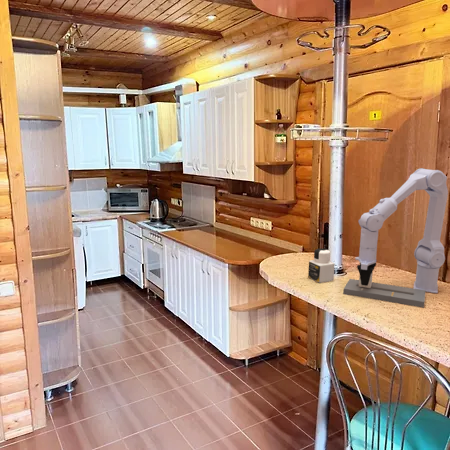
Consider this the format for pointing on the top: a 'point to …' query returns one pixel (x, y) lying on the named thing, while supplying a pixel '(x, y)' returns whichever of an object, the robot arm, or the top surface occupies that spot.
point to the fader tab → (368, 283)
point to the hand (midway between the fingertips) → (365, 283)
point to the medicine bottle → (321, 266)
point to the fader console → (386, 293)
